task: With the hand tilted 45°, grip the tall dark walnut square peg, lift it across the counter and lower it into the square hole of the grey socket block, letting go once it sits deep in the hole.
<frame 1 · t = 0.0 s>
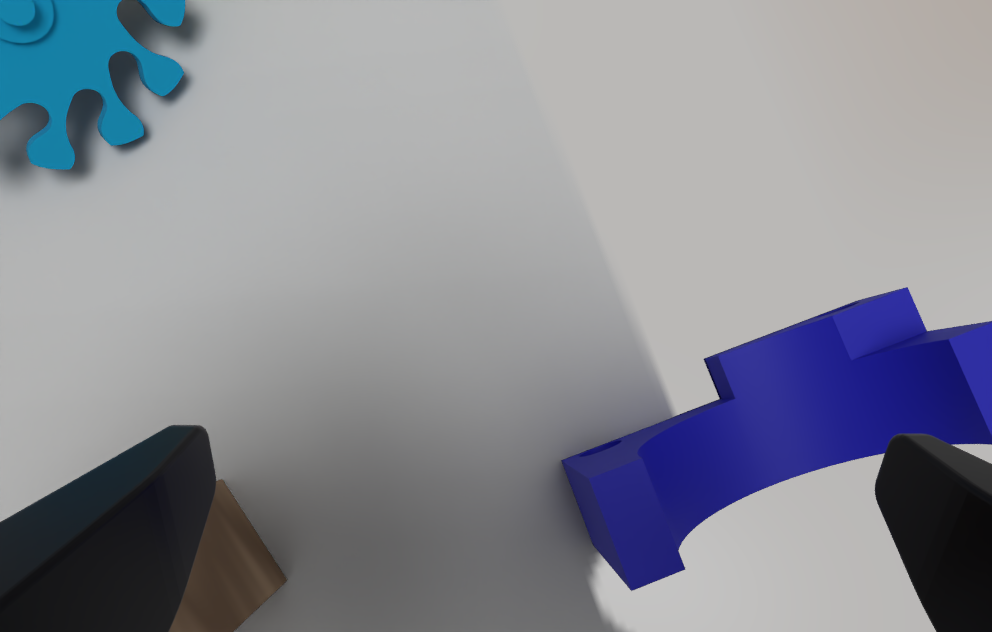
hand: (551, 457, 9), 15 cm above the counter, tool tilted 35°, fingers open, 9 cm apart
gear: (94, 57, 25), on the counter
blue stepped arch: (725, 419, 25), on the counter
walnut peg: (202, 565, 23), on the counter
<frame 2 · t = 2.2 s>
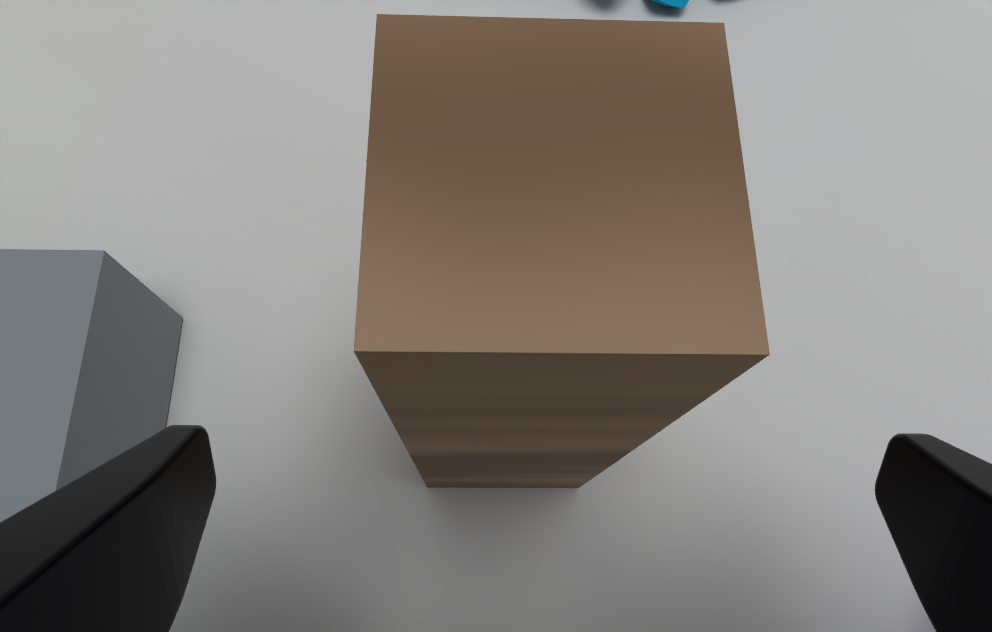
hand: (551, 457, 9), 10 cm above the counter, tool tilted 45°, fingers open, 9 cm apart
walnut peg: (503, 412, 19), on the counter
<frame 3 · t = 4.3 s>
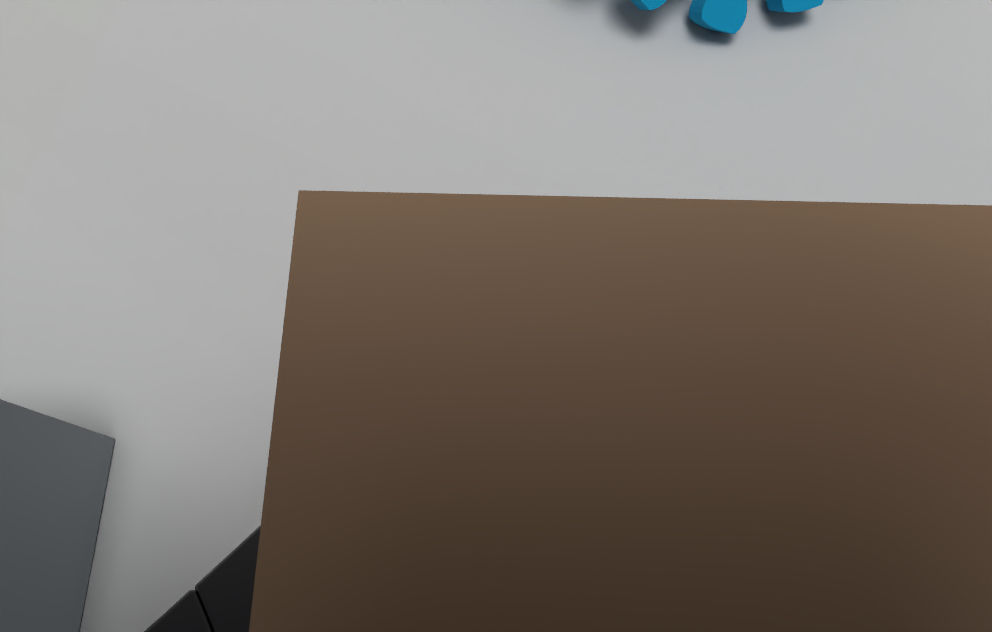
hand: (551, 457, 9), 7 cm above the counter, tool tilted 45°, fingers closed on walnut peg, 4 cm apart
walnut peg: (519, 566, 15), on the counter, touching gripper
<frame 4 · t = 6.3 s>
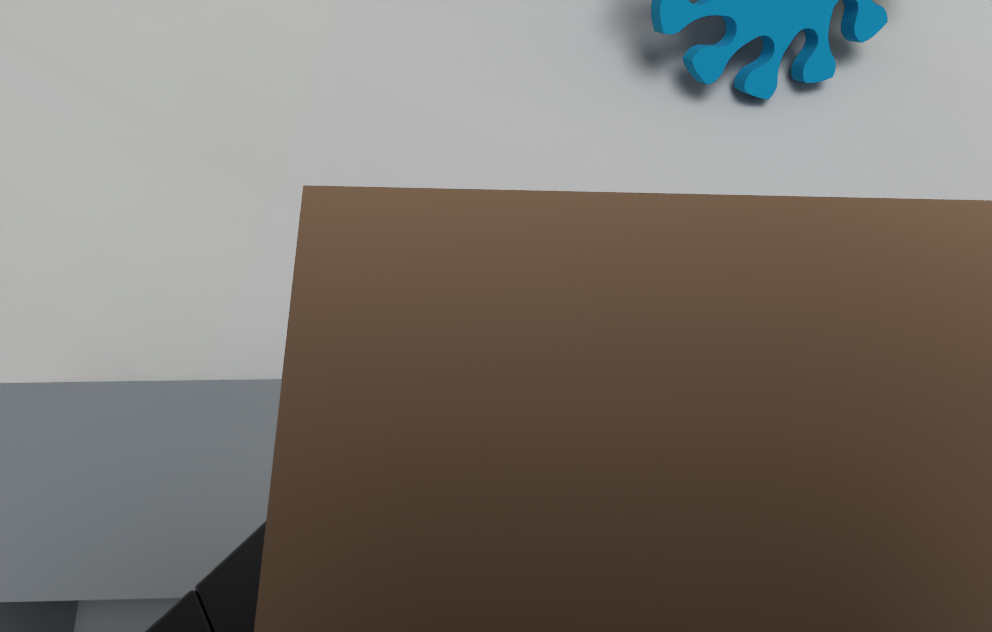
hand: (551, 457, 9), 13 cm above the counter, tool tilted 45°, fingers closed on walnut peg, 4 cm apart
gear: (753, 27, 28), on the counter
walnut peg: (520, 565, 15), point 7 cm above the counter, touching gripper
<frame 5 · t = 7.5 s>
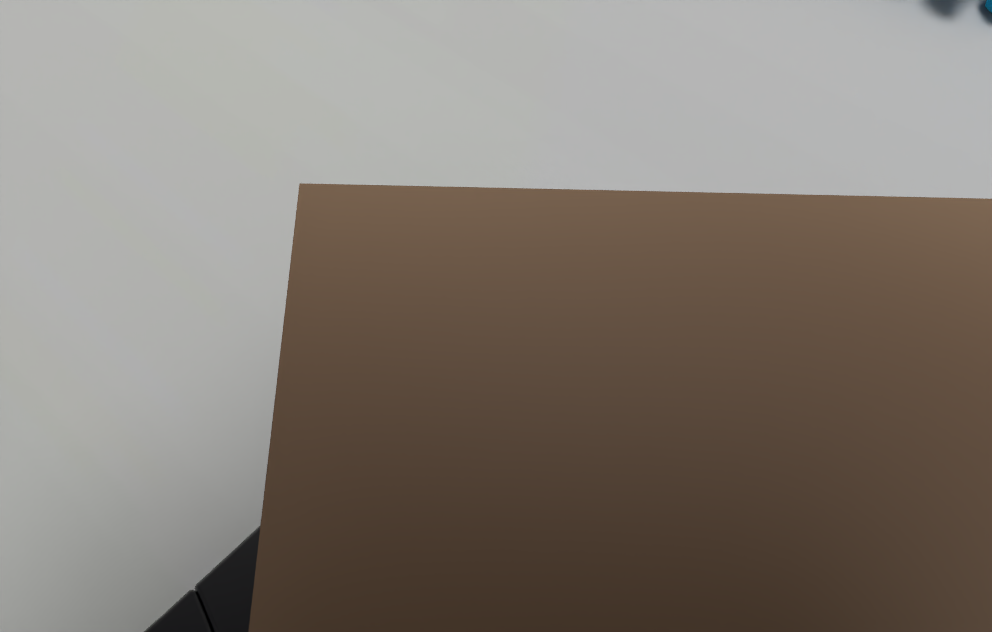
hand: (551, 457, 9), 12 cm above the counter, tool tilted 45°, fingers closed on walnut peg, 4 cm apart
walnut peg: (519, 565, 15), point 5 cm above the counter, touching gripper
when the fingers open (8 cm above the counter, at t = 8.5 s): walnut peg stays where it is, resting on grey socket block.
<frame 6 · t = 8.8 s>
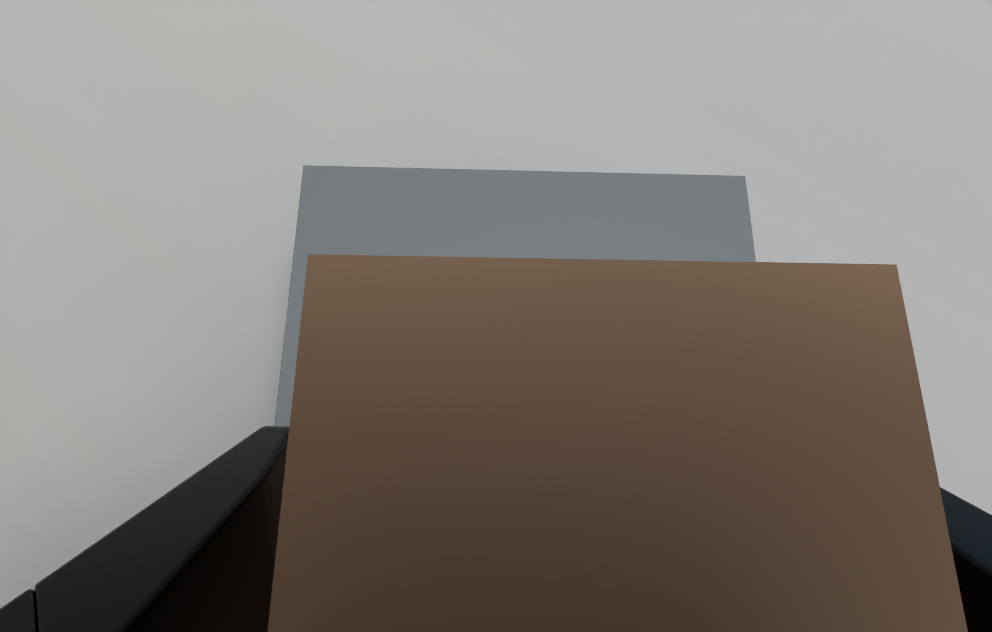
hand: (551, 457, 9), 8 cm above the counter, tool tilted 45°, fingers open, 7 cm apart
grey socket block: (514, 564, 17), on the counter
walnut peg: (515, 563, 16), point 1 cm above the counter, touching grey socket block
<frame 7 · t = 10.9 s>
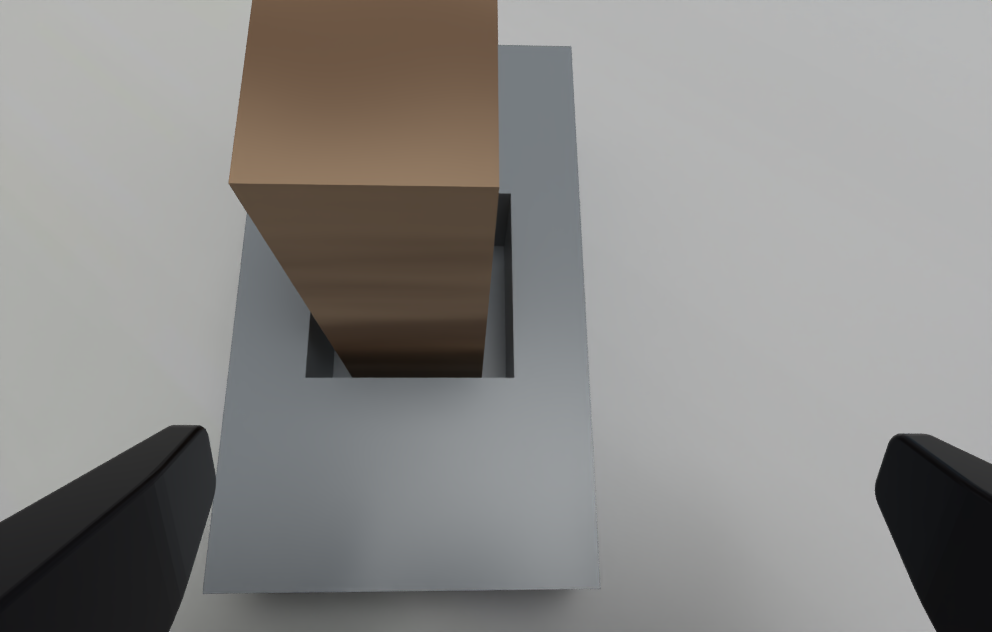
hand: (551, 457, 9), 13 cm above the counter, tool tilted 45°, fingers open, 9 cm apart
grey socket block: (422, 330, 24), on the counter
walnut peg: (420, 321, 23), point 1 cm above the counter, touching grey socket block
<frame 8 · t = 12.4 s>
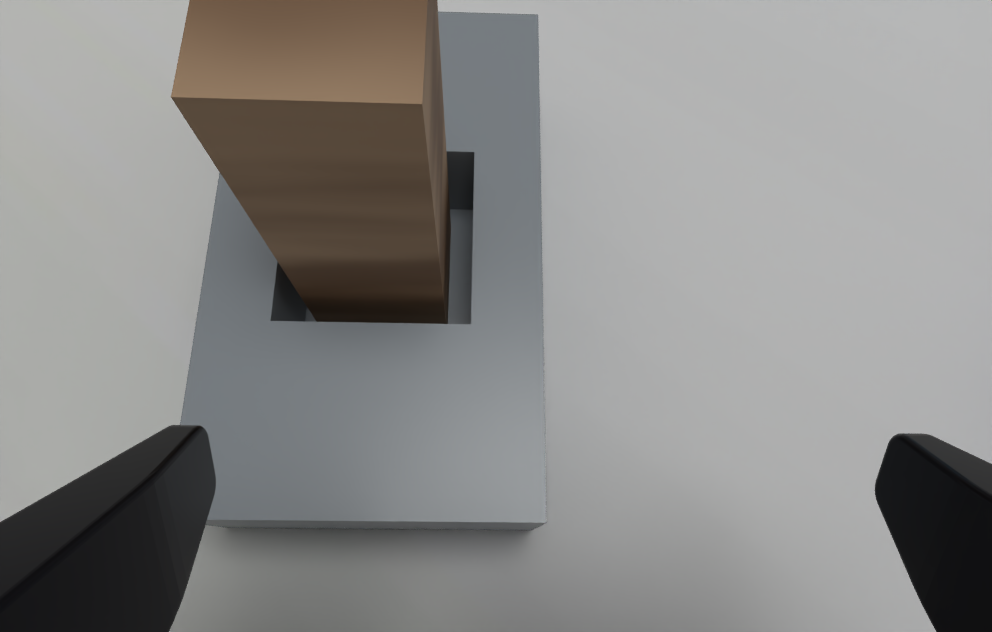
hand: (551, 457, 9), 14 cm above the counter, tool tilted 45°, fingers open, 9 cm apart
grey socket block: (393, 289, 24), on the counter
walnut peg: (390, 279, 24), point 1 cm above the counter, touching grey socket block
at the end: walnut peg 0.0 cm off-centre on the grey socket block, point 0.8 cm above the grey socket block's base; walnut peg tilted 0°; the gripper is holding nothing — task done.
